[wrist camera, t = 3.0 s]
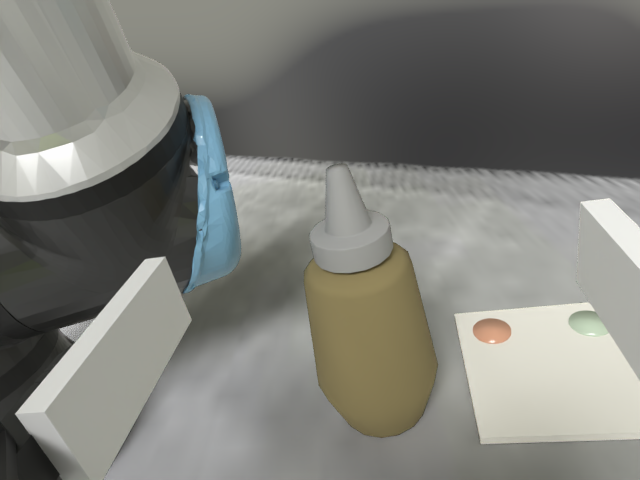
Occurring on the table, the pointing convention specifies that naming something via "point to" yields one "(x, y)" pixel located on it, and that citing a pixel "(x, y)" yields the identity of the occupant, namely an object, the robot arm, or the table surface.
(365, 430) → the squeeze bottle
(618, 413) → the card
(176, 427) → the table surface
